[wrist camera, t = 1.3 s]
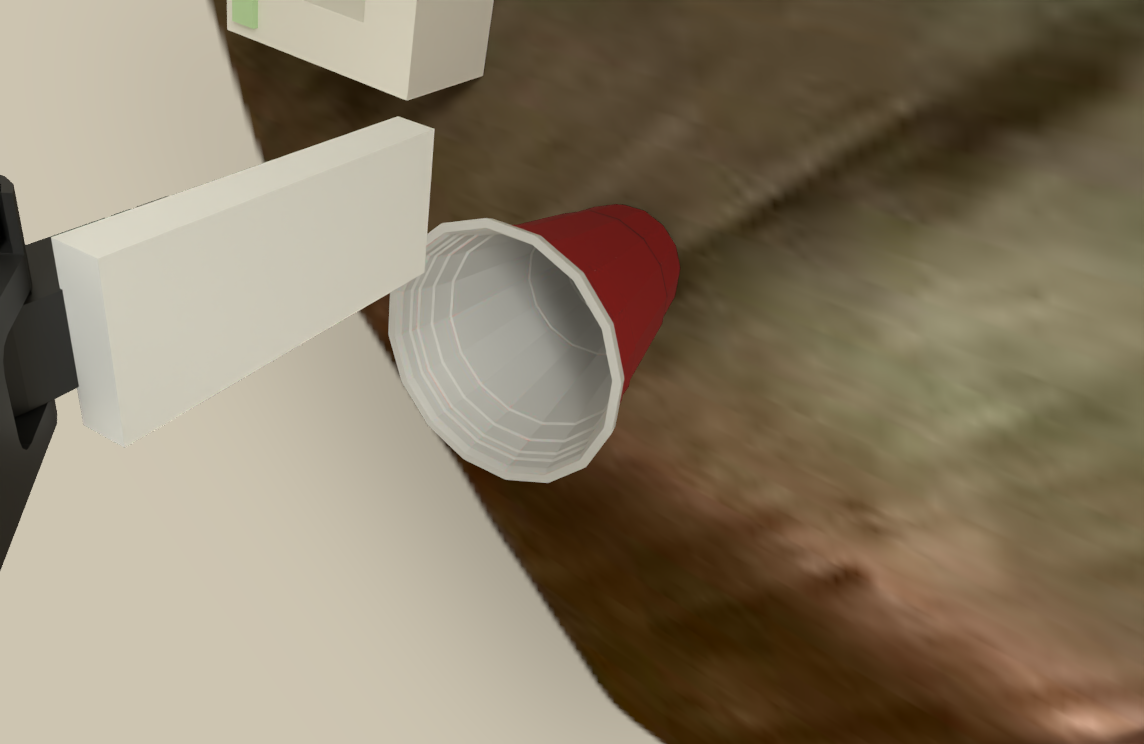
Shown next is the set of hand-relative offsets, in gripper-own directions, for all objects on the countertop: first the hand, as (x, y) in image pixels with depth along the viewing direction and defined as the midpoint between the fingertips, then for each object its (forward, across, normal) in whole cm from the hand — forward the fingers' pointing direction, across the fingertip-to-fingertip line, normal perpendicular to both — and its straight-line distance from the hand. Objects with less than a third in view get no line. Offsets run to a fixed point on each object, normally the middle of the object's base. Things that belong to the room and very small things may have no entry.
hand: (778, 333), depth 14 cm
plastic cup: (+26, -12, -13) cm, 31 cm away
